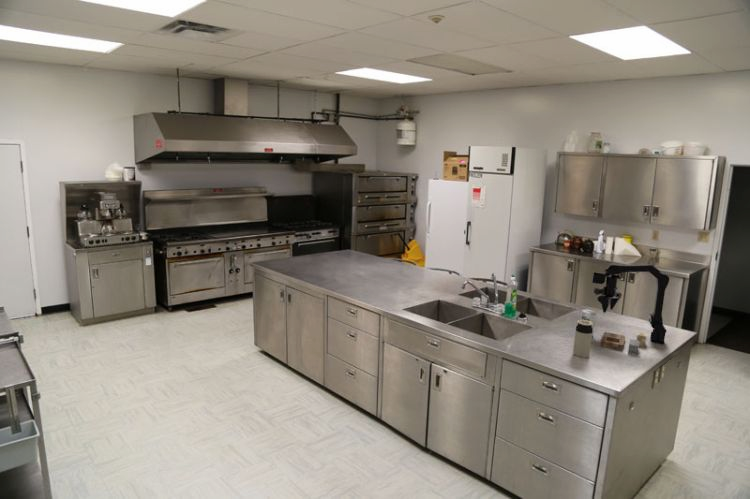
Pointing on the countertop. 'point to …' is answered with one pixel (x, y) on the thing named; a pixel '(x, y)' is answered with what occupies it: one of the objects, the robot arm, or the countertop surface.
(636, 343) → the grey rectangular block
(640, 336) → the square bit
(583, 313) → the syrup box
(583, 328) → the travel mug
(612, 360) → the countertop surface
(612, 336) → the socket block
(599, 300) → the robot arm
